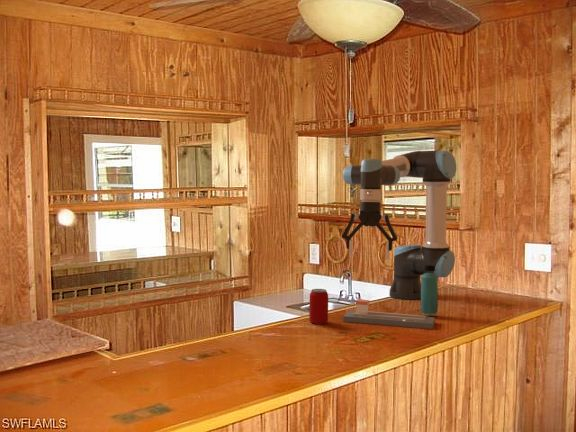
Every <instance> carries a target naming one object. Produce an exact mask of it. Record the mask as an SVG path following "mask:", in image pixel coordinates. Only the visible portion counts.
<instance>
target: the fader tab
mask: <svg viewBox="0 0 576 432" xmlns="http://www.w3.org/2000/svg"><path fill="white" fill-rule="evenodd" d="M369 304H370V299H362V298H361V299H357V298H356V300H355V311H356V313H360V314H368V311H369Z"/></svg>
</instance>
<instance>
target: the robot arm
mask: <svg viewBox="0 0 576 432" xmlns="http://www.w3.org/2000/svg"><path fill="white" fill-rule="evenodd" d="M456 173H457V163H456V159H455V156H454V155H453V154H452V152H451V151H449V150H440V149H438V150H416V151H410V152H406V153H403V154H399V155H395V156H393V158H390V159H384V160H381V159H378V158H365V159H362V160H361V164H359V165H358V164H357V165H355V164H354V165H353V164H352V165H346V166H345V167H344V169H343V170H342V179H343V181H344V183H345V184H347V185H352V186H354V185H360V192H359V200H361V201H360V202H359V214H356V213H351V214H350V219H349V221H348V223H347V226H346V227H345V229H344V231H343V233H342V235H341V238H342V239H344V240H346V249H347V250H348V259H352V258H353V243H354V242H353V241H354V240H353V239H352V238H353V237H354V236H355V235H356V234H357V232H358V231H359V230H360V229H361V228H362V227H363V226H364V227H376V228H377V229H378V230H379V231H380V233H382V235H383V236H384V238H385V239H386V240H387V241H386V242H385V243H386V245H385V247H386V248H385V260H386V261H389V260H390V252H391V251H392V250H393V242H395V241H397V240H398V236H397V234H396V232H395V229H394V228H393V226H392V223H391V221H390V215H389V214H384V215H382V213H381V205H382V203H381V202H380V201H381V199H382V197H381V196H382V186H390V187H391V186H394V185H396V184H398V183H399V181H400V178H418V179H421V178H422V183H423V185H425V188H426V189H425V242H424V243H423V244H407V245H405V244H404V245H398V246H396V247H395V248H394V254H393V280H392V283H391V285H390V289H389V296H390V297H391V298H393V299H399V300H400V299H401V300H421V276H422V275H423V274H424V273H434V274H436V275H437V276H438V278H447V277H449V276H450V275H451V273H452V272H453V269H454V267H455V262H456V256H455V253H454V252H453V251H452V250H451V249H450V245H449V244H448V243H447V205H448V203H447V199H448V198H447V197H448V196H447V194H448V185H450V184H451V182H452V180H451V179H453V178H454V177H455V176H456ZM357 219H358V220H359V221H360V222H359V223H358V225H356V227H354V228H353V230H352V231H351V233H350V230H351V228H352V226H353V224H354V223H355V221H356V220H357ZM381 220H382V221H384V222H385V224H386V227H387V229H388V231H389V233H390V234H389V233H388V231H386V229H385V228H384V226H383V225H382V224H381V223H380V221H381ZM348 233H349V235H348ZM390 235H391V236H390ZM425 265H435V271H426V270H424V267H425Z"/></svg>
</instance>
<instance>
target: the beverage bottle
mask: <svg viewBox="0 0 576 432" xmlns="http://www.w3.org/2000/svg"><path fill="white" fill-rule="evenodd" d="M424 270H426V271H435V265H425V267H424ZM420 281H421V299H420V312H421V314H424V315H437V314H438V313H439V311H438V307H439V301H438V300H439V299H438V298H439V291H438V290H439V283H438V282H439V277H438V276H437V275H436V274H434V273H424V274H423V275H420Z"/></svg>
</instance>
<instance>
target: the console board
mask: <svg viewBox="0 0 576 432" xmlns="http://www.w3.org/2000/svg"><path fill="white" fill-rule="evenodd" d="M342 318H343V319H342V322H345V323H355V324H367V325H379V326H390V327H391V326H392V327H401V328H413V329H415V328H416V329H424V330H425V329H426V330H434V326H435V323H436V322H435V320H436V317H435V316H434V317H433V316H432V317H431V316H426V315H419V314H406V313H405V314H404V313H394V312H381V311H369V310H368V314H360V313H356V310H348V311H347V312H345V314H344V315H343V317H342Z"/></svg>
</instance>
